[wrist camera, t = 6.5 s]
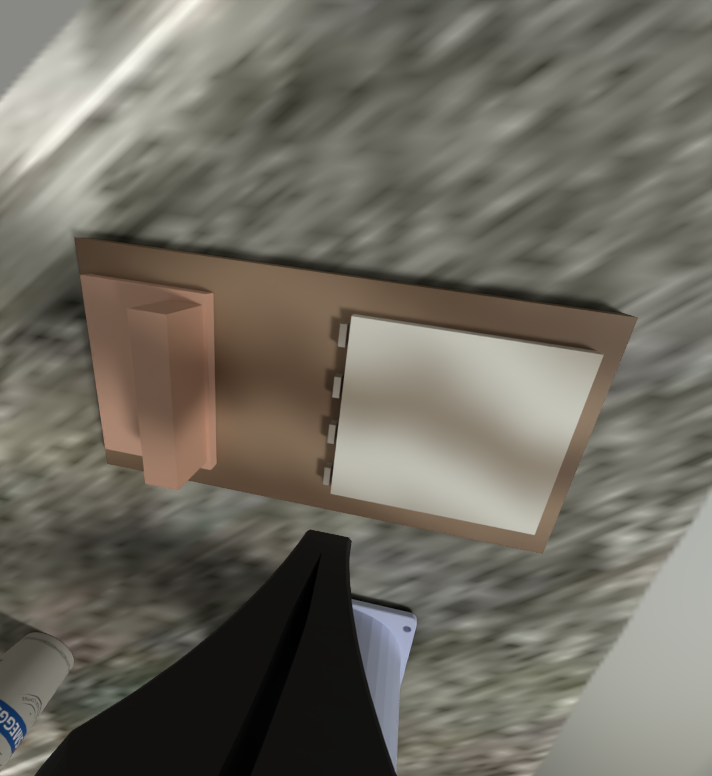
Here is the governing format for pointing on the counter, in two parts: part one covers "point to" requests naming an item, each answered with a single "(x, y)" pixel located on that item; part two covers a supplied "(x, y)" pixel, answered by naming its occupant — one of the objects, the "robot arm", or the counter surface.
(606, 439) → the counter surface
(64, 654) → the coffee cup
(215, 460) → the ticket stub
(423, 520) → the board
